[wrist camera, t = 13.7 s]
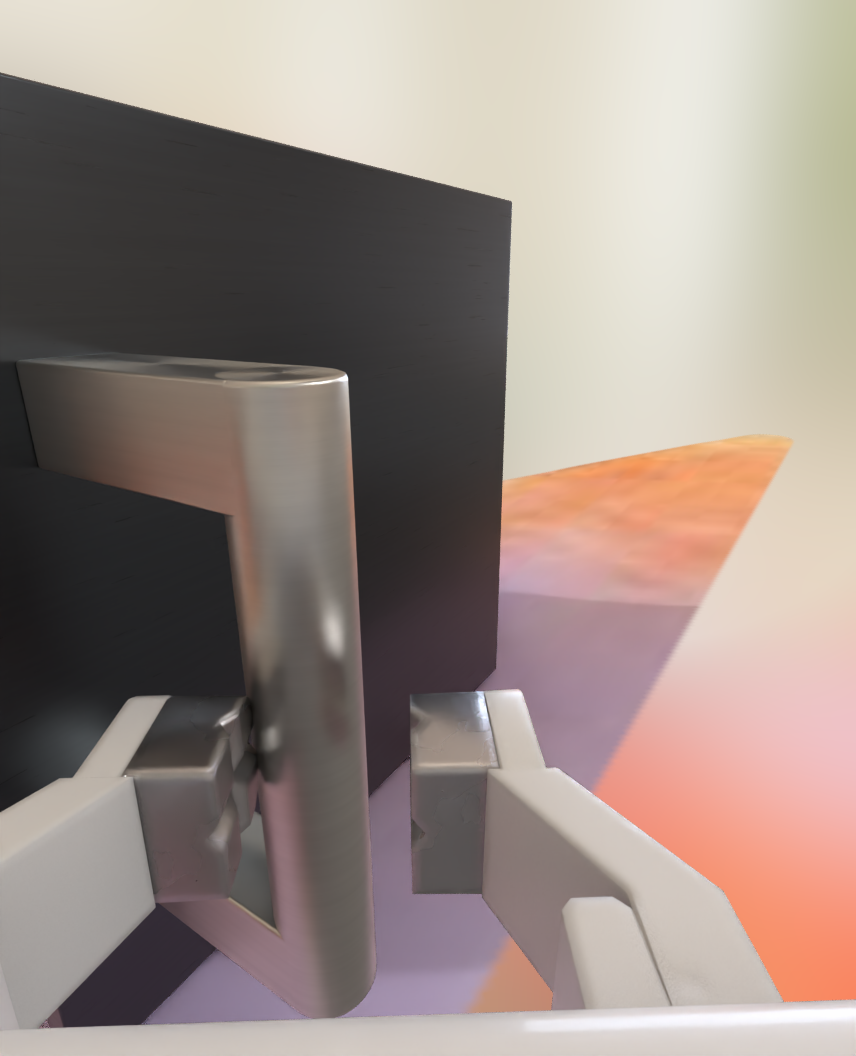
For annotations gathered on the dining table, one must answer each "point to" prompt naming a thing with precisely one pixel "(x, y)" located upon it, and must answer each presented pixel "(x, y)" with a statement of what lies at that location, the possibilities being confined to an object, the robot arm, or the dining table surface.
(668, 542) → the dining table surface
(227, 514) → the machine door
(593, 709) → the dining table surface
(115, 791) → the robot arm
